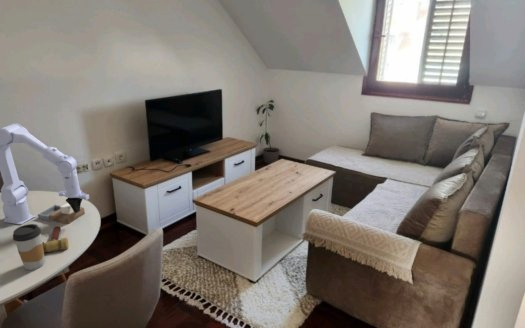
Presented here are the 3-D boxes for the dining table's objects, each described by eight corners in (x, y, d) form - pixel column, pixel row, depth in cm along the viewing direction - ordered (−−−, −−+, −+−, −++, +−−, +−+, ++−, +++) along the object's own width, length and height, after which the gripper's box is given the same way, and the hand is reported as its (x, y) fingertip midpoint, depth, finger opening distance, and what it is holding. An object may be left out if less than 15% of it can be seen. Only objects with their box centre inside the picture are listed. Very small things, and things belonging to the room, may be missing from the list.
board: (50, 220, 156) (48, 215, 155) (67, 210, 165) (66, 205, 164) (68, 223, 154) (67, 218, 153) (84, 213, 163) (83, 207, 162)
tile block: (61, 213, 157) (60, 206, 156) (68, 209, 160) (67, 202, 159) (68, 214, 156) (67, 207, 155) (75, 210, 160) (74, 204, 158)
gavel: (43, 223, 148) (69, 219, 152) (45, 233, 150) (71, 228, 154) (35, 246, 130) (65, 240, 134) (38, 257, 131) (68, 250, 135)
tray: (38, 218, 158) (37, 214, 157) (56, 208, 167) (55, 204, 166) (49, 220, 156) (48, 216, 155) (66, 210, 165) (65, 206, 164)
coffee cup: (38, 256, 131) (29, 221, 126) (53, 261, 128) (45, 226, 123) (16, 268, 124) (5, 232, 119) (32, 274, 121) (22, 238, 116)
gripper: (92, 182, 154) (96, 209, 159) (65, 179, 157) (70, 205, 162) (80, 189, 148) (85, 217, 152) (52, 185, 151) (58, 212, 156)
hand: (77, 211), depth 157 cm, fingers closed
